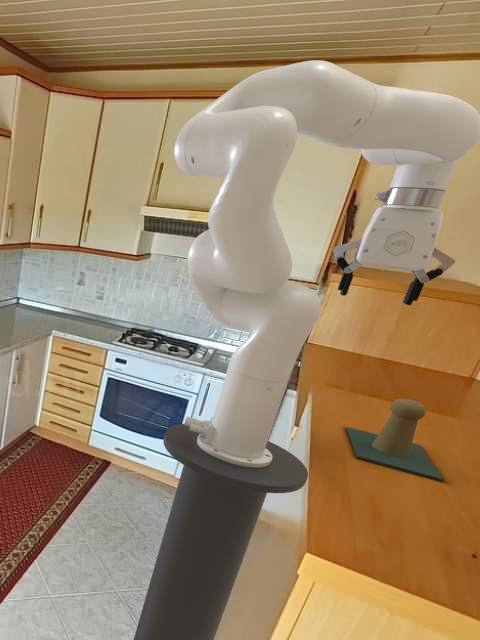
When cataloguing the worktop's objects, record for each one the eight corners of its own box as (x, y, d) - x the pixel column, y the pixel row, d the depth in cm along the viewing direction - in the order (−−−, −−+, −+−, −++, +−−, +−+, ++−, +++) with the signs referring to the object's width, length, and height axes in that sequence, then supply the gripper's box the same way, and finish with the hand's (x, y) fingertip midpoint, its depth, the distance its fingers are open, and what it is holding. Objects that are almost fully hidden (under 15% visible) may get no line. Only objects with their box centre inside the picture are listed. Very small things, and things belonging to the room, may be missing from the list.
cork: (381, 453, 98) (403, 403, 94) (366, 441, 104) (386, 393, 100) (415, 459, 97) (439, 409, 93) (398, 446, 103) (419, 398, 99)
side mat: (356, 458, 96) (357, 456, 96) (346, 428, 111) (347, 426, 111) (442, 481, 90) (443, 479, 90) (418, 447, 105) (419, 444, 105)
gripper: (354, 196, 85) (320, 293, 91) (486, 205, 77) (439, 310, 83) (349, 198, 92) (317, 289, 97) (470, 207, 84) (428, 305, 90)
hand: (374, 299), depth 90 cm, fingers open, 9 cm apart
